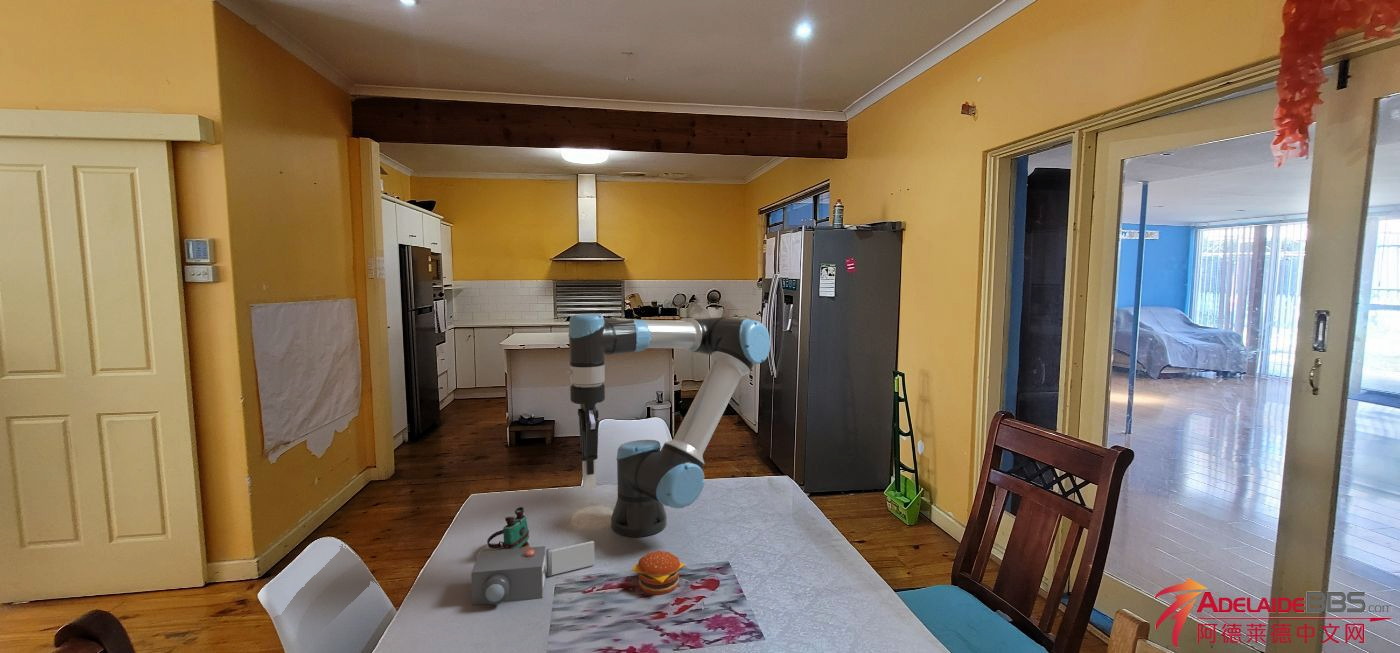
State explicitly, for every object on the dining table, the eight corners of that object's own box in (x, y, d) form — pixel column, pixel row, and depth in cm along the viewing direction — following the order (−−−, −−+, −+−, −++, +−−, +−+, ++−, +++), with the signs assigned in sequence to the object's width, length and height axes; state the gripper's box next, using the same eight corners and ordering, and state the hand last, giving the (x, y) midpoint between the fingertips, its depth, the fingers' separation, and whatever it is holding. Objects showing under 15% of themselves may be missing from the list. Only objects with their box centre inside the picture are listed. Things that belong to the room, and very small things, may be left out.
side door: (546, 574, 127) (545, 549, 127) (593, 563, 133) (593, 538, 132) (547, 576, 126) (546, 551, 126) (594, 565, 132) (594, 540, 131)
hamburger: (629, 587, 123) (628, 558, 123) (655, 568, 131) (655, 541, 131) (663, 601, 118) (663, 570, 118) (688, 580, 126) (688, 552, 126)
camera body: (546, 575, 128) (546, 542, 127) (542, 605, 116) (541, 569, 115) (480, 581, 125) (479, 547, 124) (469, 612, 113) (468, 575, 113)
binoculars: (496, 505, 142) (532, 505, 140) (501, 545, 143) (537, 545, 141) (475, 520, 134) (513, 520, 132) (481, 563, 134) (518, 563, 132)
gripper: (566, 379, 129) (568, 478, 131) (574, 390, 117) (577, 499, 119) (598, 377, 132) (600, 474, 134) (610, 388, 120) (612, 494, 122)
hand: (589, 486), depth 127 cm, fingers closed
